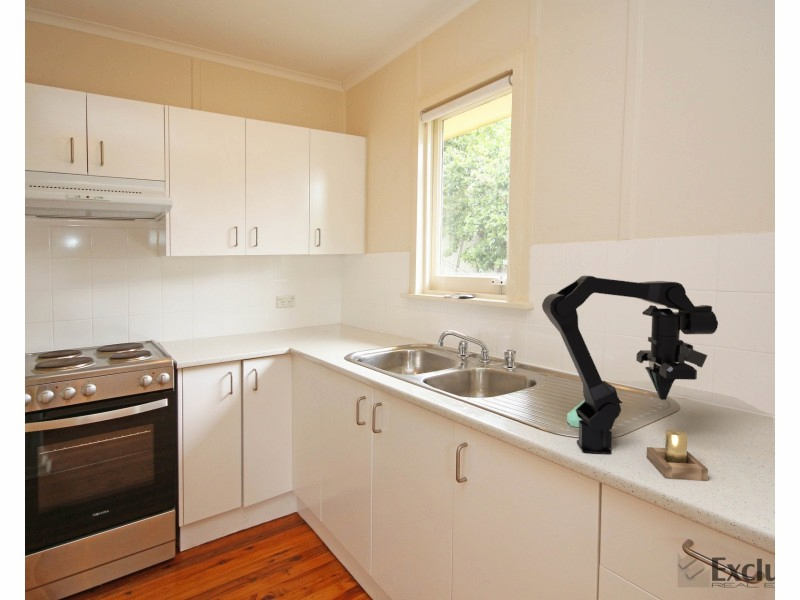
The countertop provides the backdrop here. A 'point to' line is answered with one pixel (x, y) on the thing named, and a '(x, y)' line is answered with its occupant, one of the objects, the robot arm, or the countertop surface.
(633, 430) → the countertop surface
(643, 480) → the countertop surface
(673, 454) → the peg
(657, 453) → the jig
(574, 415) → the container
